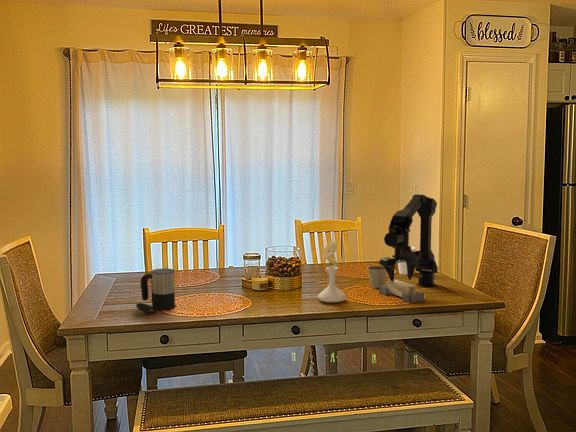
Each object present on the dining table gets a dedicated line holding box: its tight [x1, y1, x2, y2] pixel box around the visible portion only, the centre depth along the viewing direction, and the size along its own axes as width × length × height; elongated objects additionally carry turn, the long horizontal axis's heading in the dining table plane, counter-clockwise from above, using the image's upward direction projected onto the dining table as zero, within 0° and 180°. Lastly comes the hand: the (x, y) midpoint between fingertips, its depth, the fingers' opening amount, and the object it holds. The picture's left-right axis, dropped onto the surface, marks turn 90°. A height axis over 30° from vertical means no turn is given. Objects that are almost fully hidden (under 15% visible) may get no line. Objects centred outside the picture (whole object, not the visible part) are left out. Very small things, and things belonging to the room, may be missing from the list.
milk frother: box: [135, 268, 176, 315], centre depth 218 cm, size 14×16×15 cm
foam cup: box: [397, 246, 417, 276], centre depth 282 cm, size 10×9×13 cm
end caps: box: [379, 284, 425, 304], centre depth 235 cm, size 8×19×3 cm, turn 29°
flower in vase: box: [317, 241, 347, 303], centre depth 227 cm, size 13×11×25 cm
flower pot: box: [366, 265, 387, 289], centre depth 254 cm, size 9×9×9 cm
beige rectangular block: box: [386, 279, 417, 298], centre depth 235 cm, size 4×14×5 cm, turn 27°
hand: (401, 280), depth 235 cm, fingers open, 9 cm apart
